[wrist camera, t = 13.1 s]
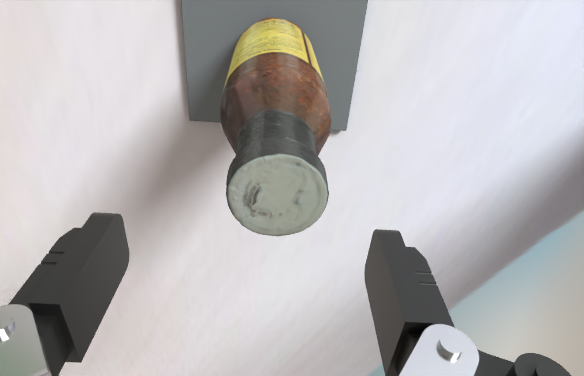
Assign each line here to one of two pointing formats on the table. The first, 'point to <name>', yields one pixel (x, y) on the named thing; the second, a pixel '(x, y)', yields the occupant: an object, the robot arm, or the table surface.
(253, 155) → the sauce bottle
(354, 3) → the placemat
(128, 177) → the table surface
